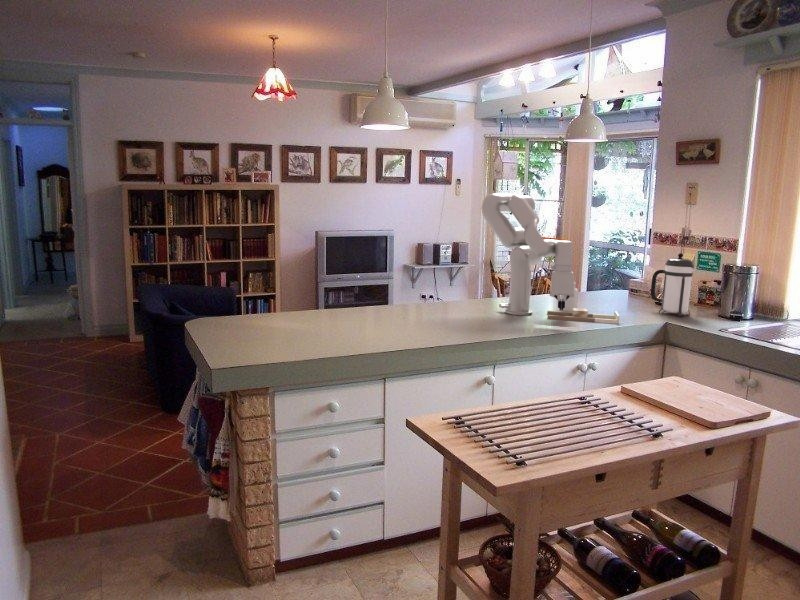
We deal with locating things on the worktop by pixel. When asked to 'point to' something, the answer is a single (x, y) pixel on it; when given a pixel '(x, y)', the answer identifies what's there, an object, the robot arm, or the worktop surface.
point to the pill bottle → (571, 301)
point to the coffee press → (675, 285)
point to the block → (579, 312)
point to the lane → (590, 317)
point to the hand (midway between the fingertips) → (561, 309)
